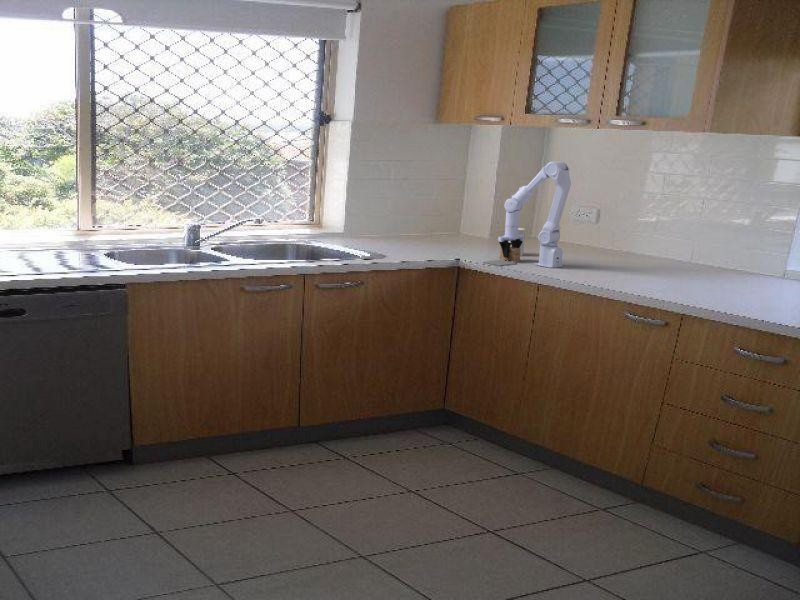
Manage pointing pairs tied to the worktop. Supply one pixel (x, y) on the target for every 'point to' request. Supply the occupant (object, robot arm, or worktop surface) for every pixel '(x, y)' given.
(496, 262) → the mat
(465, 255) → the worktop surface
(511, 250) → the slab
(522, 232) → the cup
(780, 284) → the worktop surface
